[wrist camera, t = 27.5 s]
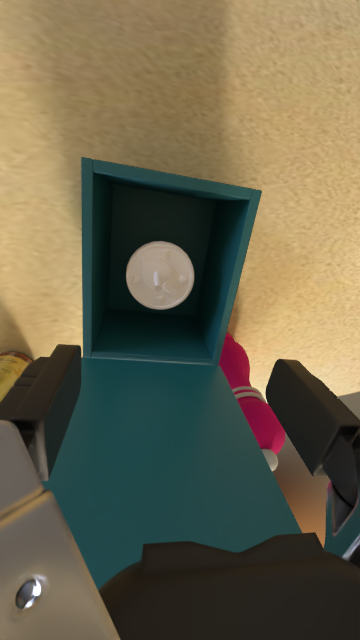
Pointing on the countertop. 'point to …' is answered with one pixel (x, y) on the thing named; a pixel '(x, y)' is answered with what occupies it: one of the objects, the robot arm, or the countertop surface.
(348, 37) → the countertop surface
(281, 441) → the pepper mill
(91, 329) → the cool box
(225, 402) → the lid
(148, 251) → the smoothie
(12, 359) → the sauce bottle
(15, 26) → the countertop surface
